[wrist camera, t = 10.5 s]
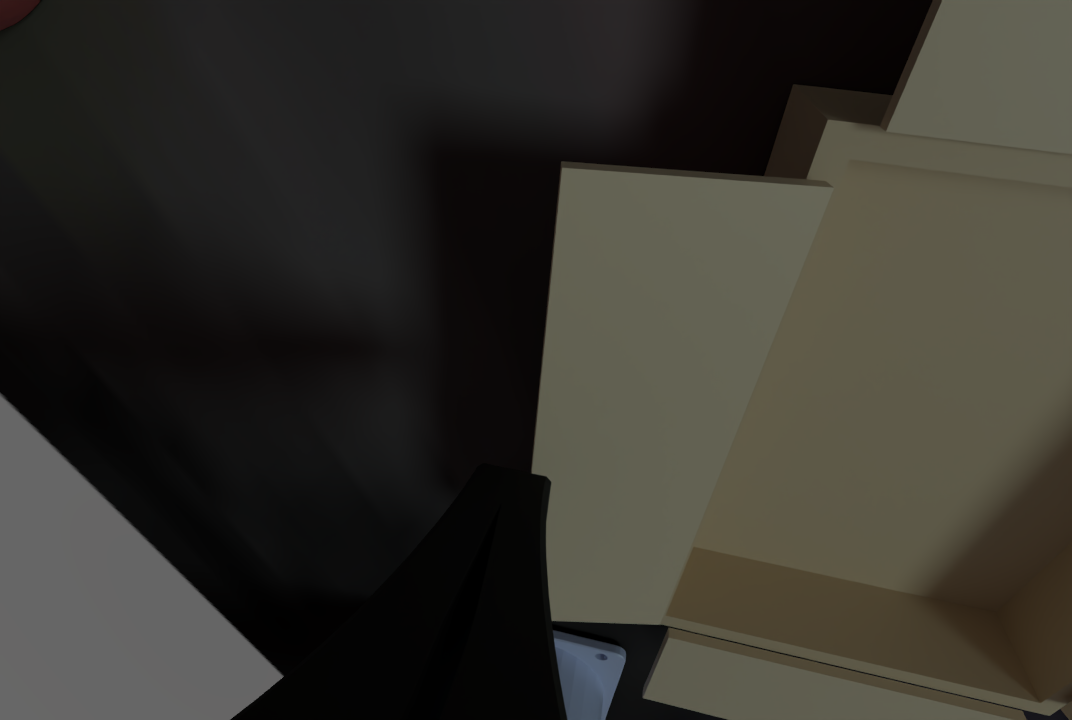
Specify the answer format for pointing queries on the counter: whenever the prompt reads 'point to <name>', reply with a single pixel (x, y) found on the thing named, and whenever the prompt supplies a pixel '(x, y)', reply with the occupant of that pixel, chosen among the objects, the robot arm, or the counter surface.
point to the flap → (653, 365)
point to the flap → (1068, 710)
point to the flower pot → (15, 11)
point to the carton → (906, 406)
